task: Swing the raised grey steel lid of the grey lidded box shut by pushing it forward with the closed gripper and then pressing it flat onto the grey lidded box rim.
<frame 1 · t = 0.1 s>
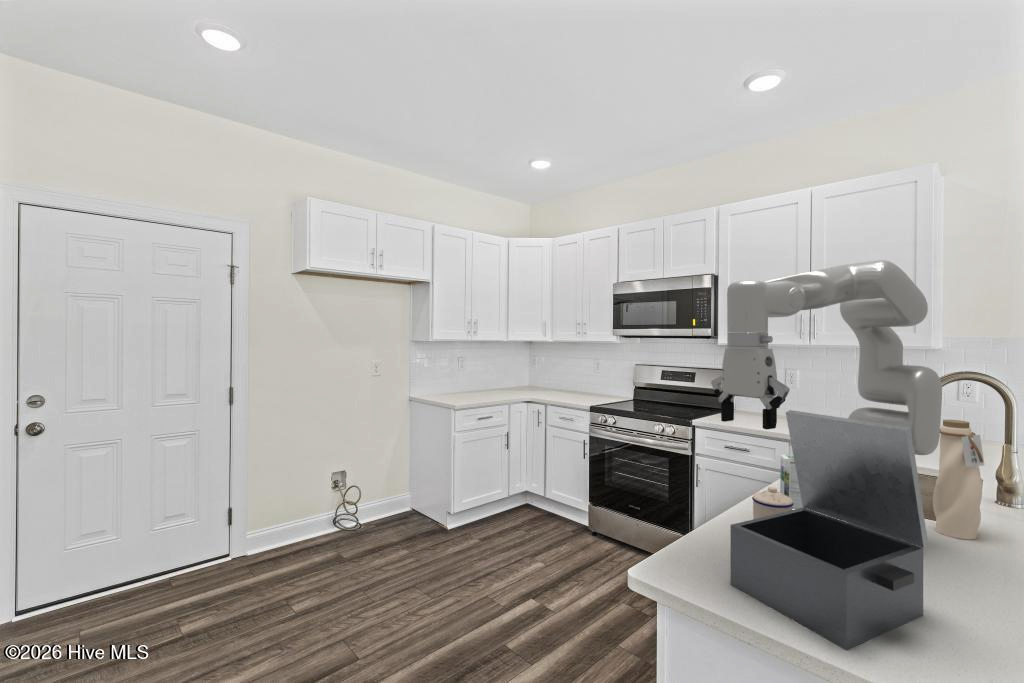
hand: (747, 424, 98), 31 cm above the countertop, tool pointing down, fingers open, 9 cm apart
syrup box: (793, 507, 138), on the countertop
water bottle: (959, 535, 119), on the countertop
teacup with lid: (775, 533, 120), on the countertop
cooker lid: (855, 469, 94), point 23 cm above the countertop, hinge at 75.0°
grey lidded box: (821, 599, 90), on the countertop
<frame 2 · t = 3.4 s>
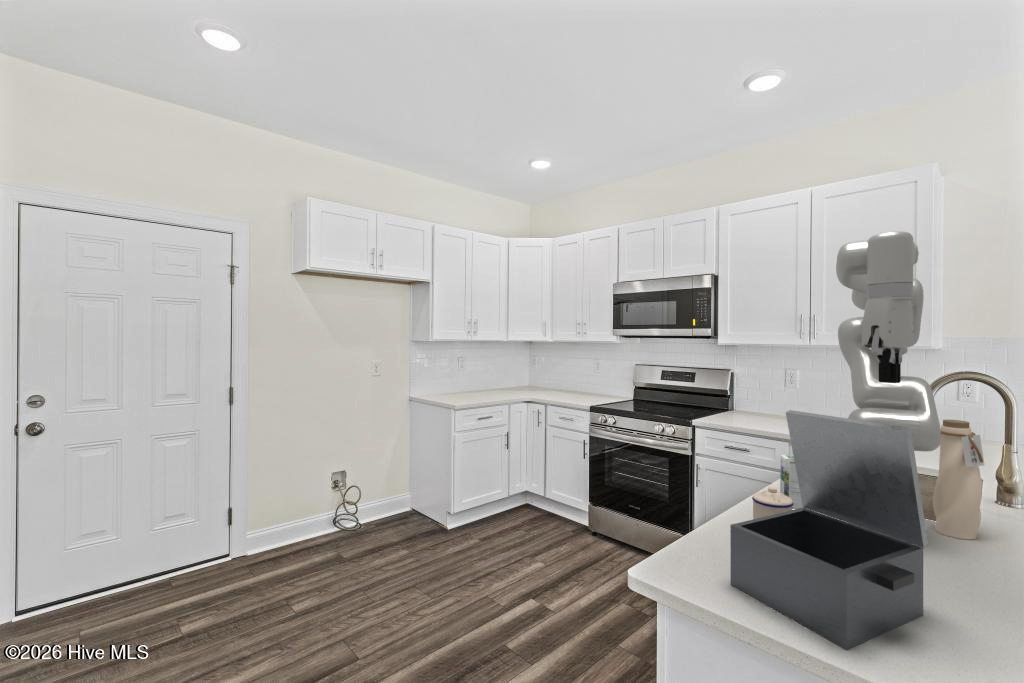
hand: (889, 382, 99), 40 cm above the countertop, tool pointing down, fingers closed
nothing on the countertop moved.
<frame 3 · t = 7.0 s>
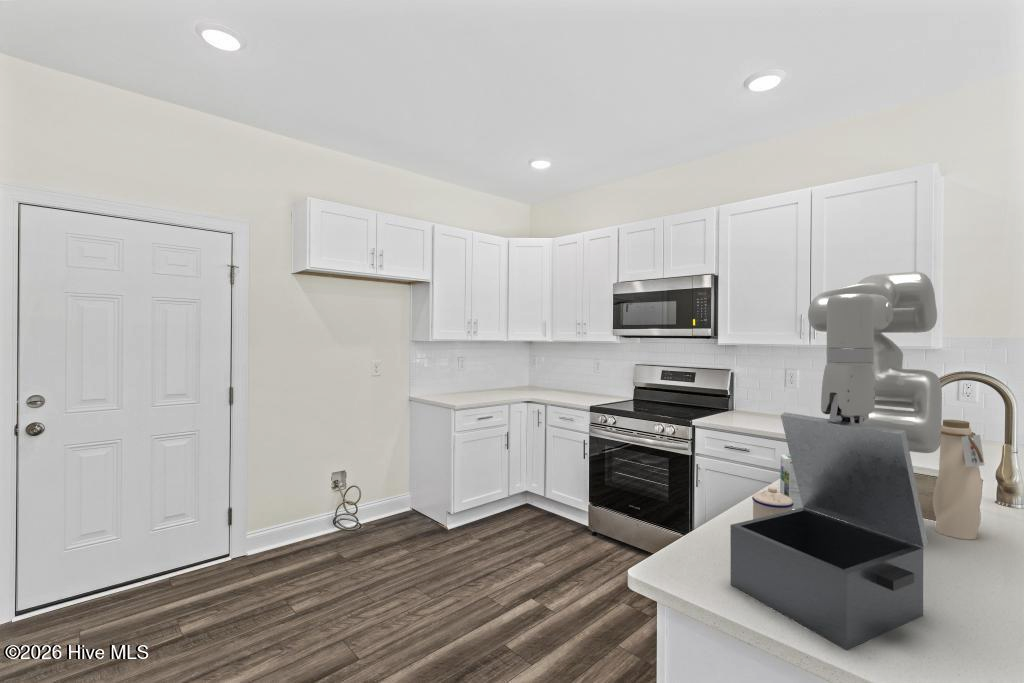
hand: (849, 451, 93), 27 cm above the countertop, tool pointing down, fingers closed
cooker lid: (852, 470, 94), point 23 cm above the countertop, hinge at 70.6°, touching gripper
everything else where it was.
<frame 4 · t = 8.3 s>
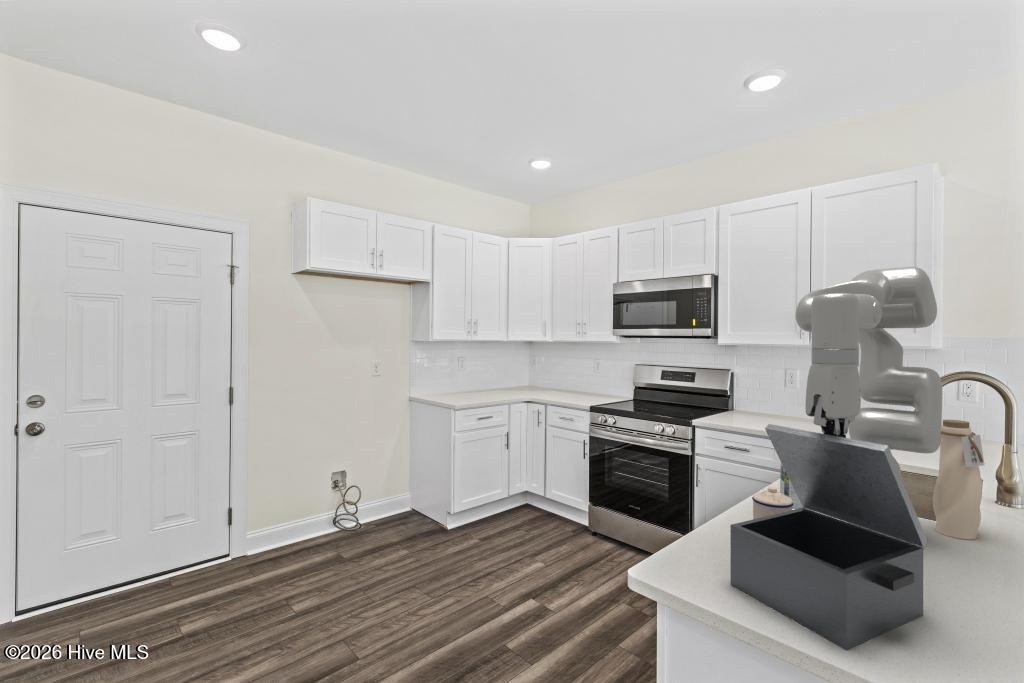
hand: (834, 454, 91), 27 cm above the countertop, tool pointing down, fingers closed
cooker lid: (843, 475, 93), point 22 cm above the countertop, hinge at 56.6°, touching gripper
everything else where it was.
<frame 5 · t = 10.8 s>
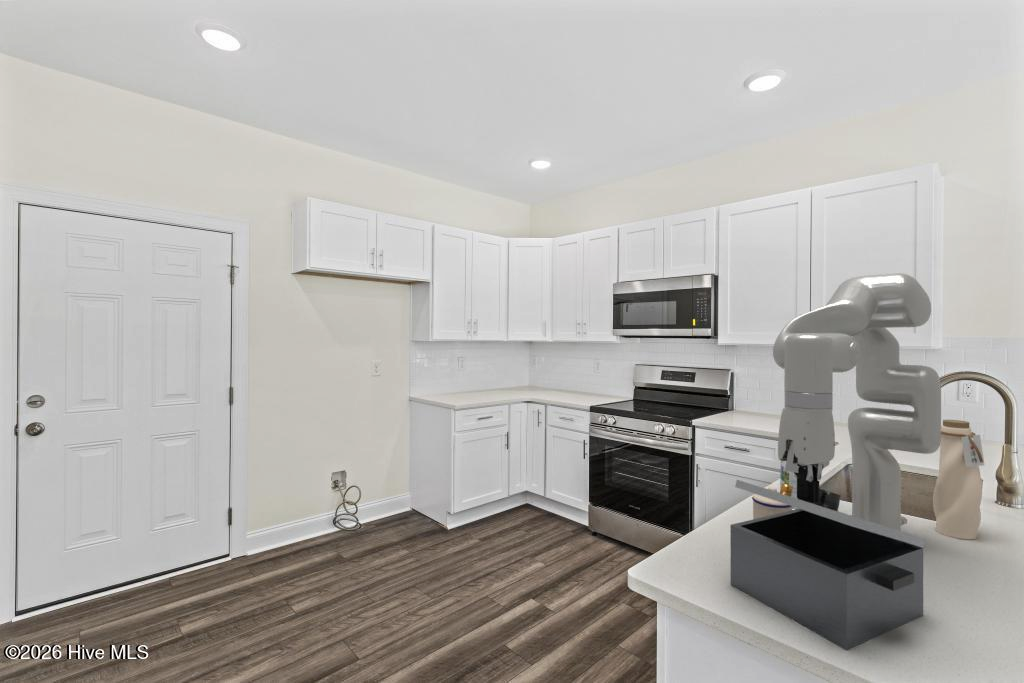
hand: (807, 500, 88), 19 cm above the countertop, tool pointing down, fingers closed
cooker lid: (825, 503, 90), point 18 cm above the countertop, hinge at 19.4°, touching gripper
everything else where it was.
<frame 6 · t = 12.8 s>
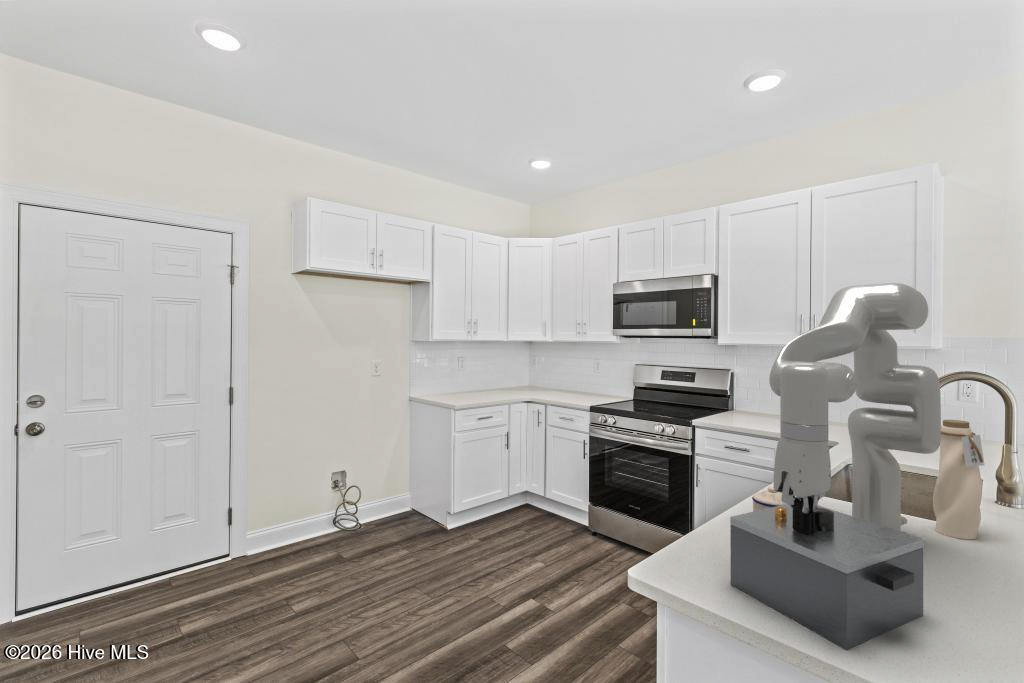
hand: (803, 531, 88), 14 cm above the countertop, tool pointing down, fingers closed
cooker lid: (821, 523, 90), point 14 cm above the countertop, hinge at 0.0°, touching gripper
everything else where it was.
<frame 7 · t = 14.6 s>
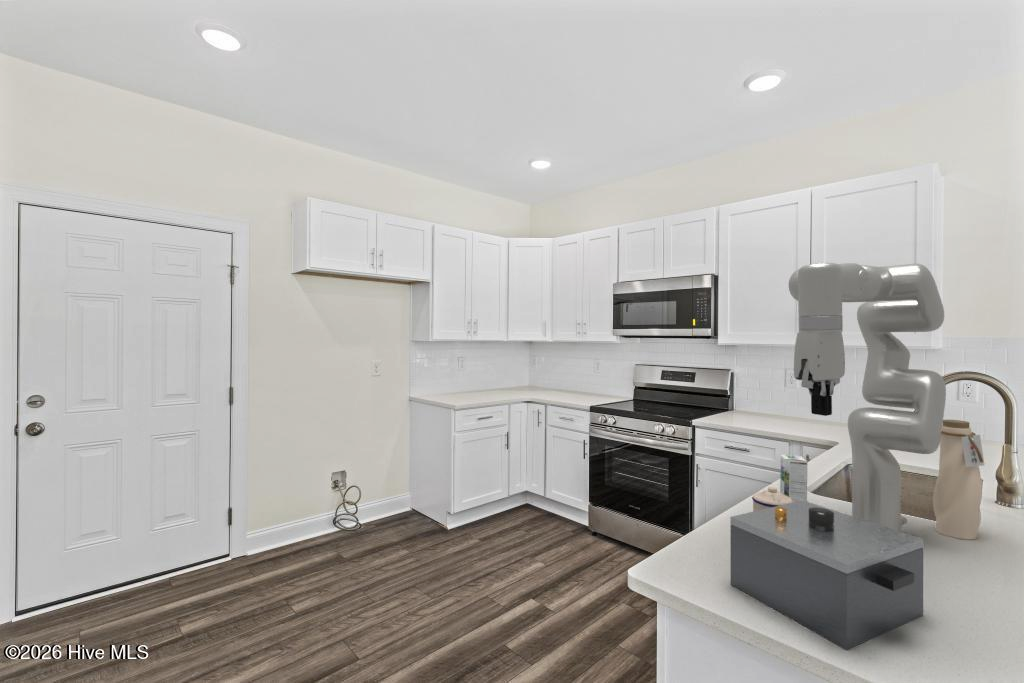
hand: (821, 414, 98), 34 cm above the countertop, tool pointing down, fingers closed
cooker lid: (821, 523, 90), point 14 cm above the countertop, hinge at 0.0°
everything else where it was.
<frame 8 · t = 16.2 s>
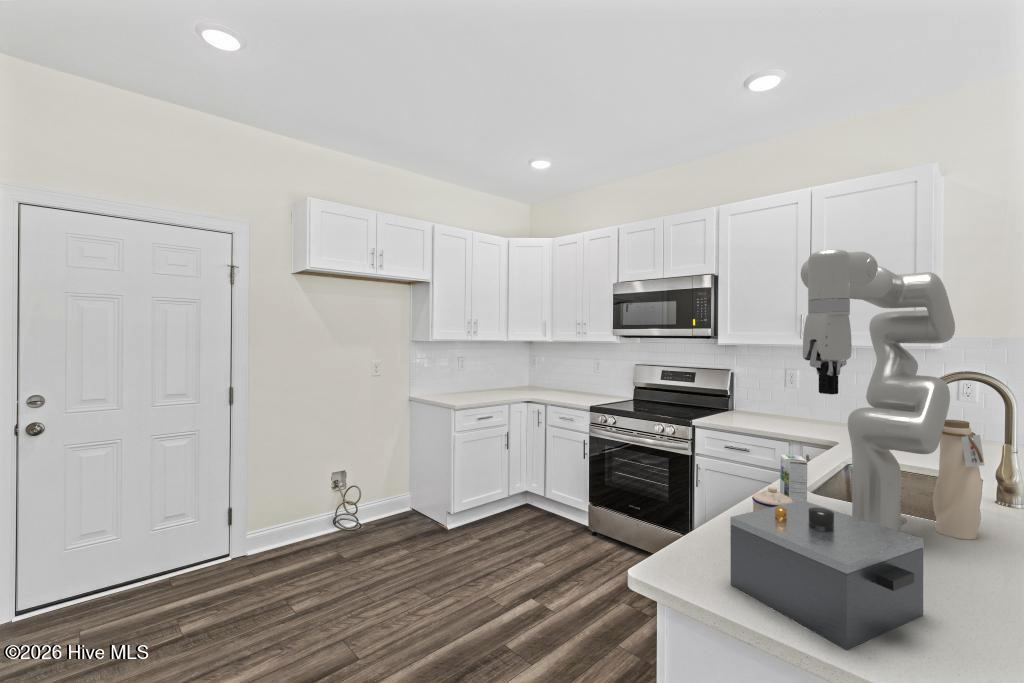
hand: (828, 393, 103), 37 cm above the countertop, tool pointing down, fingers closed
nothing on the countertop moved.
at the end: cooker lid at +0° (first picture: +75°); teacup with lid moved 0.2 cm from its start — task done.
